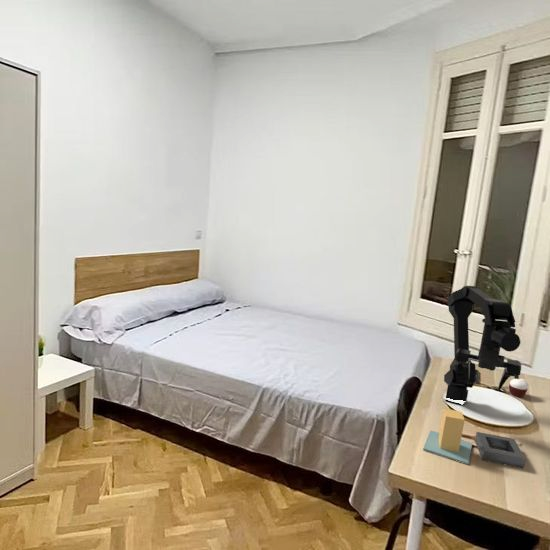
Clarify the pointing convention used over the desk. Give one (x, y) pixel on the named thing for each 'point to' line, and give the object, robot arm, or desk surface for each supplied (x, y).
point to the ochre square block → (451, 430)
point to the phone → (477, 376)
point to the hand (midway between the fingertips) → (482, 386)
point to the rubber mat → (434, 448)
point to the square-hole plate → (499, 456)
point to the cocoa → (518, 386)
